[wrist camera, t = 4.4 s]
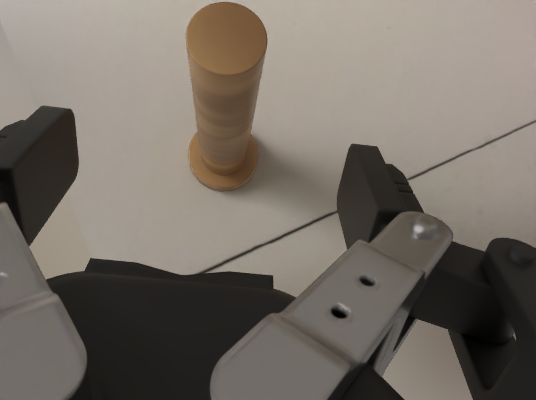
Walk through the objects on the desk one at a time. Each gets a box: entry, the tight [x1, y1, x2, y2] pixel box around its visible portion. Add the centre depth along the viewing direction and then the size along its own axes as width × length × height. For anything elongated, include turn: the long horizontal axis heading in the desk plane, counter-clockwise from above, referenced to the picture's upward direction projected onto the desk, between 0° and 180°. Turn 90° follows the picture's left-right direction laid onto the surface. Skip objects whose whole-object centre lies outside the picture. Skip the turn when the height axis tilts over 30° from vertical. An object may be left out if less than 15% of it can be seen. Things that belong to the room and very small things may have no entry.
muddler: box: [186, 2, 267, 191], centre depth 21 cm, size 4×4×13 cm
